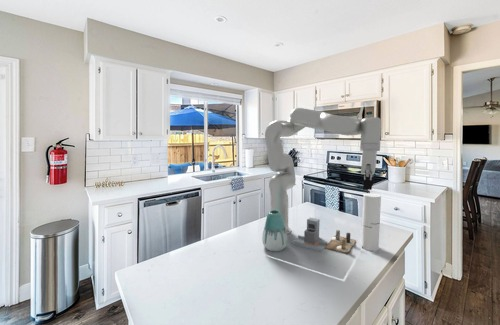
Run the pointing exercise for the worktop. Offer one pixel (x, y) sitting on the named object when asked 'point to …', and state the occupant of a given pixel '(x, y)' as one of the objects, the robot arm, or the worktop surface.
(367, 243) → the cylindrical container
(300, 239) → the chute
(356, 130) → the robot arm
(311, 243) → the sleeve
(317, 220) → the gray rectangular block
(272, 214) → the vase
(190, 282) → the worktop surface
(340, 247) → the pin board
